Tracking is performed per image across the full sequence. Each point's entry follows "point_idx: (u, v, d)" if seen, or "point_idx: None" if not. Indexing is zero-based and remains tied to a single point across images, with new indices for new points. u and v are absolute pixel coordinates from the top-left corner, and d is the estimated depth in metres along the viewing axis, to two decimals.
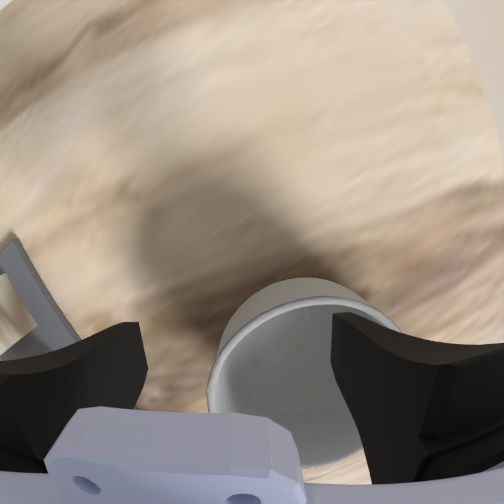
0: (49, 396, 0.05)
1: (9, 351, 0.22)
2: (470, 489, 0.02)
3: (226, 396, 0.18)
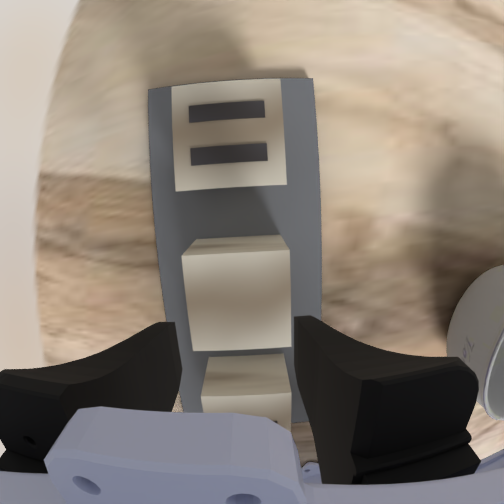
0: (103, 404, 0.05)
1: (183, 194, 0.19)
2: (470, 489, 0.02)
3: None
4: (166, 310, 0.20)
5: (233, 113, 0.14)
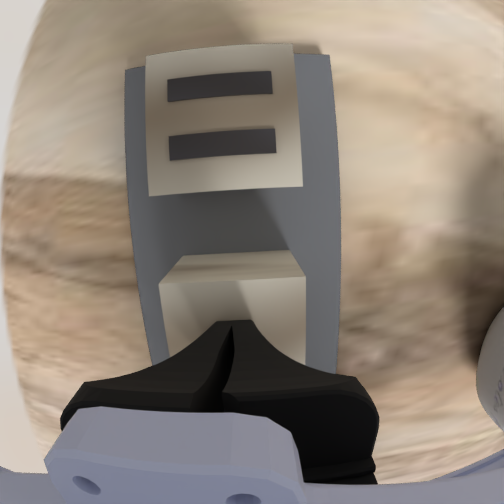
0: (208, 410, 0.05)
1: (166, 199, 0.15)
2: (470, 489, 0.02)
3: None
4: (149, 341, 0.16)
5: (227, 87, 0.09)
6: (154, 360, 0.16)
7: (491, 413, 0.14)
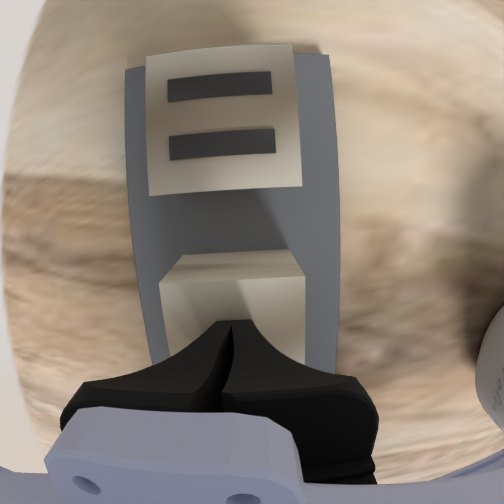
0: (208, 410, 0.05)
1: (166, 198, 0.15)
2: (470, 489, 0.02)
3: None
4: (149, 340, 0.16)
5: (227, 88, 0.10)
6: (154, 359, 0.16)
7: (490, 412, 0.14)
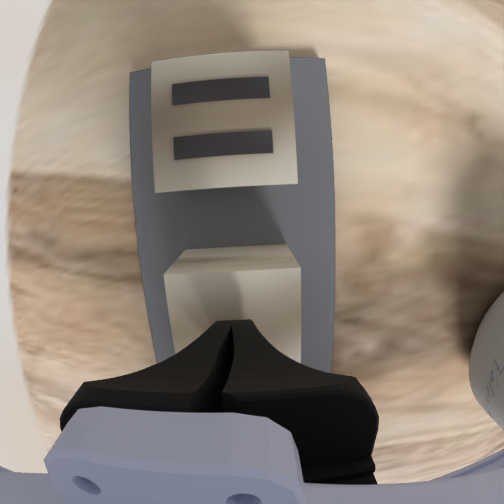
0: (208, 410, 0.05)
1: (170, 196, 0.16)
2: (470, 489, 0.02)
3: None
4: (152, 331, 0.17)
5: (228, 92, 0.10)
6: (157, 350, 0.17)
7: (483, 404, 0.15)
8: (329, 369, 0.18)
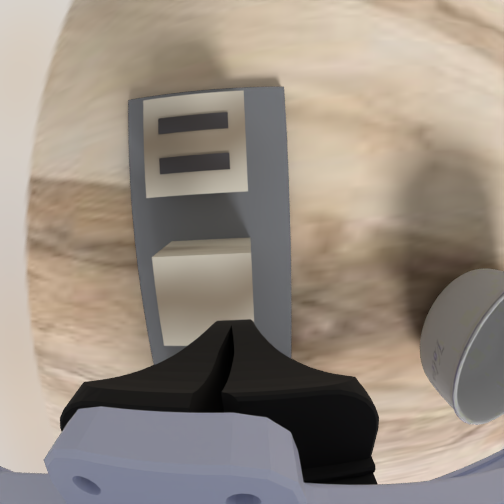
0: (208, 410, 0.05)
1: (159, 199, 0.20)
2: (470, 489, 0.02)
3: None
4: (145, 307, 0.21)
5: (198, 124, 0.15)
6: (148, 323, 0.22)
7: (432, 382, 0.19)
8: (289, 343, 0.22)
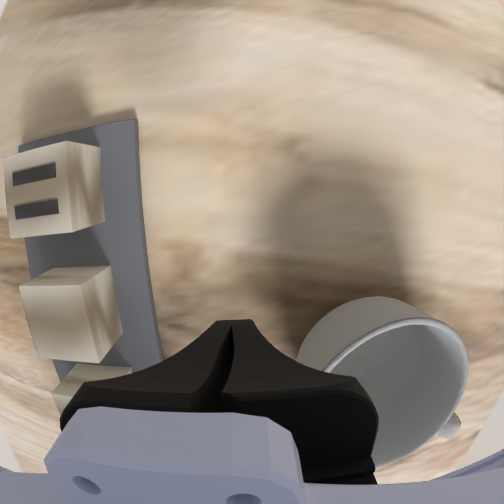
0: (208, 410, 0.05)
1: None
2: (470, 489, 0.02)
3: None
4: None
5: (35, 176, 0.15)
6: None
7: None
8: None
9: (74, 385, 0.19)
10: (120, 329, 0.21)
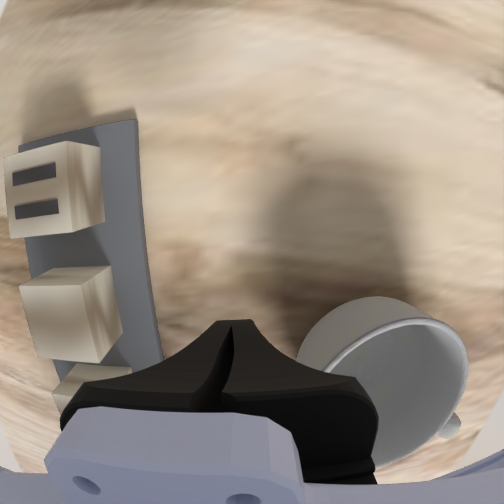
0: (208, 410, 0.05)
1: None
2: (470, 489, 0.02)
3: None
4: None
5: (35, 176, 0.15)
6: None
7: None
8: None
9: (74, 385, 0.19)
10: (120, 329, 0.21)
